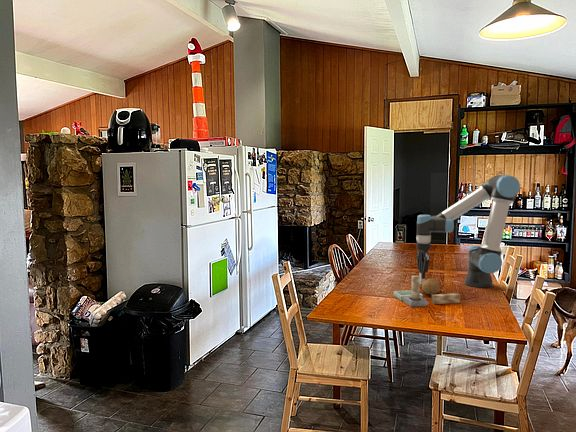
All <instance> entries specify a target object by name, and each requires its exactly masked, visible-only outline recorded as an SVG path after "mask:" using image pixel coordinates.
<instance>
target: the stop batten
mask: <svg viewBox="0 0 576 432" xmlns="http://www.w3.org/2000/svg"><path fill="white" fill-rule="evenodd" d="M431 303H432V304H434V305H438V304H439V305H441V304H459V303H461V294H460V293H457V292H454V293H439V294H438V293H436V294H433V295H431Z"/></svg>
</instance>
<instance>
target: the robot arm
mask: <svg viewBox="0 0 576 432" xmlns="http://www.w3.org/2000/svg"><path fill="white" fill-rule="evenodd" d="M520 191H521V183H520V181H519V180H518V178H516V177H515V176H513V175H510V174H497V175H494V176H492V177H491V178H489V179H488V180H486V181H485V182H483V183H481V184H480V185H479V186H478V188H477V189H476V190H474V191H473V192H471V193H469V194H468V195H466V196H465V197H463V198H462V199H460V200H458V201H457V202H455V203H453V204H452V205H451V206H449V207H447V208H446V209H445V210H443V211H441V212H440V213H438V214H437V215H430V214H419V215H417V219H416V220H417V221H416V237H415V238H416V246H415V247H416V248H415V249H416V250H418V251H417V252H416V253H415V256H416V264H417V265H416V266H417V271H418V272H419V276H420V285H422V283H423V282H424V281H425V280H426V274H427V273H428V272H429V265H430V261H431V256H429V251H430V250H431V242H432V241H431V240H432V235H431V233H452V232H453V231H454V229H455V225H454V224H455V223H454V221H455V220H457V219H458V218H459V217H461V216H463V215H464V214H466V213H468V212H469V211H470V210H472V209H474V208H476V207H477V206H478V205H480V204H482V203H483V202H485V201H488V200H492V202H491V203H492V204H491V207H490V213H489V216H488V219H487V225H486V229H485V234H484V237H483V242H482V244H480V245H470V246H469V248H468V269H467V273H466V275H465V279H464V284H465V285H466V286H469V287H474V288H491V287H493V284H494V282H493V281H494V280H493V277H492V276H491V274H495V273H496V272H498V271H500V269H502V265H503V259H502V257H501V256H502V253H503V250H502V248H500V247H501V243H502V238H503V234H504V230H505V226H506V221H507V217H508V213H509V210H510V205H511V204H512V203H514V201H515V198H516V197H515V196H517V195H518V194H519V193H520Z"/></svg>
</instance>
